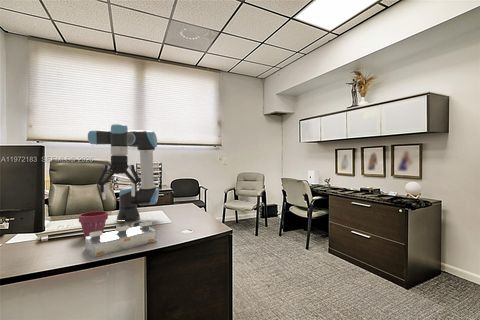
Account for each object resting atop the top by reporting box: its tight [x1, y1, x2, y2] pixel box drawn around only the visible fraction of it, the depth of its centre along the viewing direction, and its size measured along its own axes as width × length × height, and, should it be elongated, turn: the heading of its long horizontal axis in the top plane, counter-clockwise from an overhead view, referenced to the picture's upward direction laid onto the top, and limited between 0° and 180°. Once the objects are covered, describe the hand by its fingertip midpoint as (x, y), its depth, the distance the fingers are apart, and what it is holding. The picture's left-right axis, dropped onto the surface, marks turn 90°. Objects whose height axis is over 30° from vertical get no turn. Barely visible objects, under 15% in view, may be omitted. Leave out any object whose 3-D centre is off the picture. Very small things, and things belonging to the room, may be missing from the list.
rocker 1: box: [89, 230, 102, 237], centre depth 113 cm, size 8×4×2 cm, turn 44°
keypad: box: [130, 221, 144, 228], centre depth 147 cm, size 10×4×15 cm
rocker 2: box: [115, 224, 130, 232], centre depth 121 cm, size 8×4×2 cm, turn 44°
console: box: [84, 225, 157, 258], centre depth 121 cm, size 14×30×7 cm, turn 134°
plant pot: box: [78, 210, 109, 238], centre depth 136 cm, size 14×14×13 cm
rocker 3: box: [139, 220, 153, 227], centre depth 130 cm, size 8×4×2 cm, turn 44°
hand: (119, 197), depth 117 cm, fingers open, 13 cm apart
